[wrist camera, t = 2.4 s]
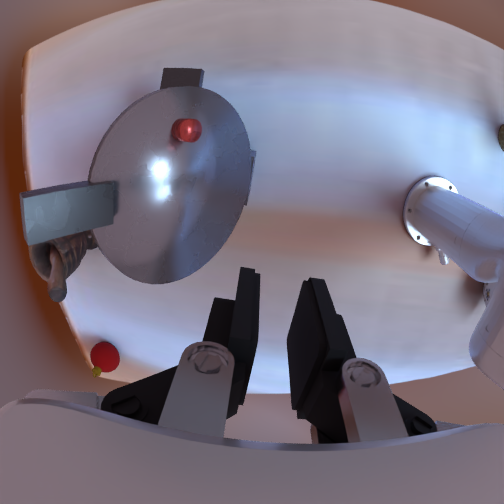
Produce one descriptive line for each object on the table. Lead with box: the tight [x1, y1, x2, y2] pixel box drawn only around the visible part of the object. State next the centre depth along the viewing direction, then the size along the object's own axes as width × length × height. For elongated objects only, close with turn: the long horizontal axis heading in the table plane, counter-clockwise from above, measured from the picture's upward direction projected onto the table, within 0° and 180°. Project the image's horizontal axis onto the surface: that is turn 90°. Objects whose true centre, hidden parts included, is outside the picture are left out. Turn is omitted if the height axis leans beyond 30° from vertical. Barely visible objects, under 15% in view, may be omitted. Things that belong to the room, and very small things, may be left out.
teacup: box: [483, 282, 497, 309], centre depth 46 cm, size 15×12×8 cm
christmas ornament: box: [90, 342, 120, 377], centre depth 55 cm, size 7×7×10 cm
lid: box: [20, 86, 251, 284], centre depth 24 cm, size 24×19×3 cm
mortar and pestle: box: [29, 230, 97, 302], centre depth 39 cm, size 12×9×20 cm
